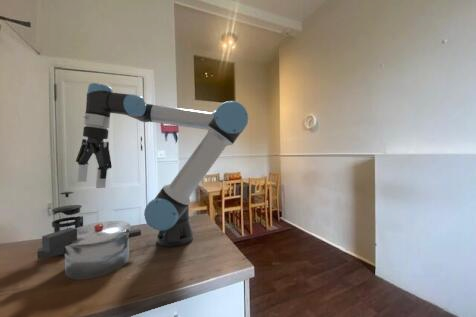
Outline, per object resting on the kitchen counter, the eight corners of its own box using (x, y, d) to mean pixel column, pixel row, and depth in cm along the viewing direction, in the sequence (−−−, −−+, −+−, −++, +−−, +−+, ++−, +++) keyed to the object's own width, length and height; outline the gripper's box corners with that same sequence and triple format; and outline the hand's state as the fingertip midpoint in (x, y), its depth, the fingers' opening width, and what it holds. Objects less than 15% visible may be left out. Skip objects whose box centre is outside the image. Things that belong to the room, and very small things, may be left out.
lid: (104, 222, 81) (104, 210, 81) (142, 227, 75) (142, 214, 75) (24, 249, 58) (24, 232, 58) (69, 259, 52) (69, 241, 52)
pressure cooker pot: (136, 244, 85) (135, 220, 84) (145, 262, 70) (145, 233, 70) (44, 266, 68) (43, 236, 68) (32, 296, 53) (31, 258, 53)
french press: (66, 257, 74) (65, 194, 73) (42, 257, 74) (41, 194, 74) (92, 243, 85) (91, 189, 85) (71, 243, 86) (70, 189, 86)
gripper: (68, 124, 77) (63, 179, 77) (104, 126, 65) (97, 191, 65) (90, 128, 84) (85, 178, 84) (126, 130, 72) (120, 189, 72)
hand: (90, 184), depth 75 cm, fingers open, 13 cm apart
